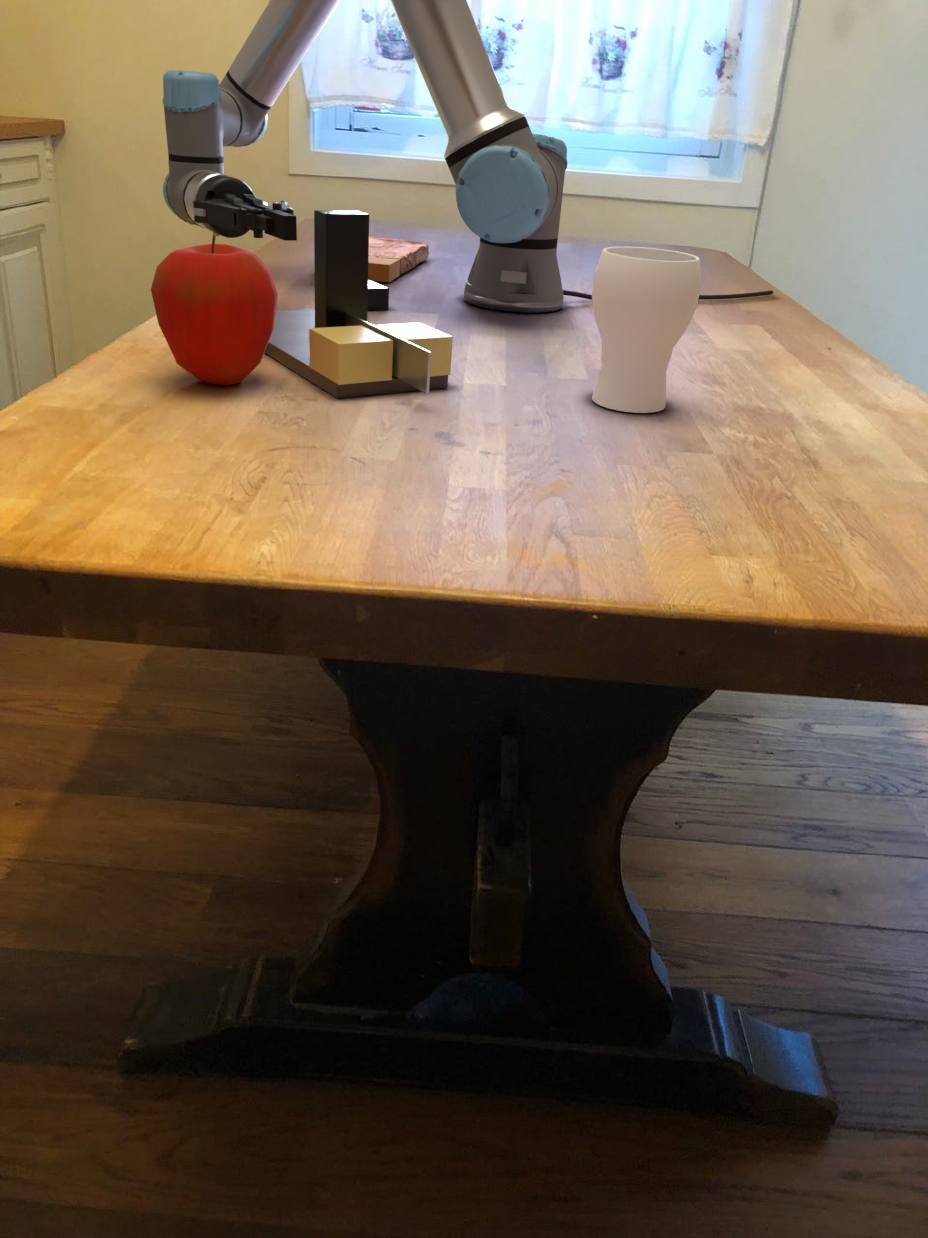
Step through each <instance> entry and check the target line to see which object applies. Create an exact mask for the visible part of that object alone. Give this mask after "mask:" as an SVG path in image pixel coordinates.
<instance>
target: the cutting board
mask: <svg viewBox="0 0 928 1238" xmlns="http://www.w3.org/2000/svg"><path fill="white" fill-rule="evenodd" d="M309 328H315V308H304V309H301V308H300V309H281V310H276V316H275V325H274V330H273V333H272V335H271V338H270V340H269V343H268V345H267V348H266V350H265V353H264V354H266V355H268V356H269V357H271V358H272V359H274V360H276V362H278V363H279V364H282V365H283V366H285V367H287V368H288V369H290V370H292V371H293V372H295V373H296V374H297V375H299V376H301V377H302V378H303V379H306V380H307V381H308V382H310V383H312V384H314V385H315V386H317V387H318V388H320V389H321V390H323V391H325V392H326V393H328V394H330V395H331V396H332V397H334V398H335V399H344V398H354V397H365V396H376V395H384V394H385V395H386V394H396V393H407V392H416V391H420V390H419V389H417V388H415V387H413V386H412V385H410V384H408V383H406V382H404V381H402V380H400V379H399V378H397V377H395V376H393V375H392V380H387V381H376V382H365V383H353V384H342V385H338V384H336V383H335V382H333V381H331V380H330V379H328V378H327V377H325V376H323V375H322V374H320V373H318V372H317V371H315V370H313V369H312V368H310V350H309ZM448 384H449V375H442V376H431V377H430V385H429V390H436V389H437V390H438V389H446V388H448Z"/></svg>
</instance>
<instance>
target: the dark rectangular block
mask: <svg viewBox="0 0 928 1238" xmlns="http://www.w3.org/2000/svg"><path fill="white" fill-rule="evenodd" d="M389 304H390V288H389V287H387V286H385V285H382V284H380V283H378V282H376V281H372V280H368V306H367V312H372V311H388V310H389Z"/></svg>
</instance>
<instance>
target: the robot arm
mask: <svg viewBox="0 0 928 1238" xmlns="http://www.w3.org/2000/svg"><path fill="white" fill-rule="evenodd" d="M340 2H341V0H269V1H268V3H267V5H266V7H265V8H264V9H263V11H262V13H261V15H260V16H259V17H258V19H257V21H256V23H255V25H254V26H253V28H252V29H251V31H250V32H249V34H248V36H247V38H246V39H245V42H244V43H243V44H242V46H241V48H240V50H239V51H238V53H237V54H236V56H235V57H234V60H233V61H232V63H231V64H230V66H229V68H228V70H227V72H226V73H225V75H224V76H223V78H222V79H221V81H220V80H219V78H218V76H217V75H216V74H215V73H213V72H205V71H195V70H194V71H193V70H180V69H179V70H177V69H169V70H167V71H165V72H164V74H163V77H162V84H163V85H162V88H163V89H162V91H163V93H162V94H163V95H162V96H163V98H162V105H163V112H164V113H163V114H164V123H165V133H166V146H167V155H168V161H167V162H168V173H167V174H166V176H165V178H164V181H163V185H162V195H163V198H164V202H165V204H166V206H167V207H168V209H169V210H170V211H171V212H172V213H173V214H174V215H175V216H176V217H177V218H179V219H180V220H182V221H183V222H184V223H188V224H190V225H193V226H197V227H200V228H202V229H205V230H207V231H209V232H212V236H213V235H214V236H216V237H219V236H221V237H224V238H227V239H236V238H240V237H243V236H244V235H246V234H247V233H248V232H249V231H252V232H253V238H254V239H264V234H266V235H268V236H271V237H274V238H277V239H279V240H282V241H291V242H292V241H293V242H294V241H296V242H297V241H298V229H297V227H298V226H297V215H295V212H294V208H292V207H290V206H289V205H288V201H285V200H280V201H277V202H276V201H272V204H271V205H272V206H270V205H268V203H267V201H264V200H263V199H261V198H258V197H256V195H255V193H254V191H253V189H252V188H251V187H250V186H249V185H248V184H247V183H246V182H244V181H243V180H242V179H240V178H237V177H234V176H230V175H227V174H225V166H224V163H225V161H224V159H225V158H224V147H232V148H233V147H234V148H243V147H247V146H250V145H252V144H255V143H257V142H258V141H260V140H261V139H262V138H263V136H264V135H265V133H266V131H267V129H268V122H269V121H268V119H269V116H268V114H269V113H270V110H271V109H272V107H273V106H274V105H275V103H276V101H277V100H278V98H279V96H280V95H281V93H282V92H283V90H284V89H285V87H286V85H287V84H288V82H289V81H290V79H291V78H292V76H293V74H294V73H295V72H296V71H297V68H298V67H299V65H301V62H302V61H303V59H304V57H305V56H306V55H307V53H308V51H309V50H310V48H311V47H312V45H313V44H314V42H315V40H316V39H317V37H318V36H319V35H320V34H321V31H322V30H323V29H324V27H325V25H326V23H327V22H328V21H329V19H330V17H331V16H332V14H333V13H334V12H335V10H336V8H337V7H338V5H339V3H340ZM390 2H391V5H392V7H393V10H394V13H395V14H396V16H397V20H398V21H399V23H400V26H401V29H402V30H403V33H404V35H405V38H406V40H407V42H408V46H409V48H410V49H411V52H412V54H413V57H414V60H415V62H416V64H417V67H418V68H419V71H420V73H421V76H422V78H423V80H424V82H425V85H426V87H427V91H428V92H429V95H430V96H431V99H432V101H433V105H434V106H435V109H436V111H437V114H438V116H439V119H440V120H441V123H442V125H443V128H444V130H445V132H446V135H447V145H446V148H445V151H444V155H443V157H444V160H445V162H446V165H447V167H448V170H449V173H450V175H451V177H452V179H453V182H454V184H455V201H456V207H457V210H458V212H459V215H460V218H461V219H462V221H463V223H464V224H465V226H466V227H467V228H468V229H469V231H471V232H472V233H473V234H474V235H476V236H477V237H479V245H478V249H477V251H476V255H475V258H474V260H473V263H472V265H471V268H470V271H469V274H468V277H467V279H466V281H465V285H464V288H463V300H464V301H465V302H466V303H468V304H470V305H473V306H476V307H480V308H484V309H489V310H495V311H501V312H502V311H503V312H510V313H511V312H513V313H532V314H533V313H536V314H537V313H550V312H555V311H560V310H561V309H562V308H563V306H564V305H563V304H564V296H568V297H576V298H581V299H586V300H591V301H592V294H589V293H584V292H579V291H573V290H566V289H563V284H562V277H561V271H560V267H559V261H558V256H557V252H558V251H557V249H558V242H559V241H558V240H559V234H560V233H559V232H560V224H561V222H560V221H561V215H562V214H561V213H562V205H563V204H562V203H563V195H564V183H565V177H566V176H565V175H566V170H567V168H568V163H569V162H568V159H567V157H568V148H567V145H566V143H565V141H563V140H562V139H561V138H557V137H555V136H554V137H553V136H548V135H545V134H538V133H533V132H532V130H531V127H530V125H529V122H528V119H527V117H526V115H525V114H524V113H522V112H520V111H517V110H515V109H513V108H511V107H510V105H508V101H507V100H506V97H505V94H504V92H503V89H502V87H501V84H500V82H499V79H498V77H497V73H496V71H495V69H494V66H493V63H492V61H491V59H490V56H489V54H488V52H487V48H486V46H485V44H484V41H483V39H482V36H481V34H480V31H479V29H478V26H477V24H476V21H475V19H474V15H473V13H472V11H471V9H470V6H469V3H468V1H467V0H390ZM773 294H774V290H773V289H772V290H763V291H754V292H743V293H732V294H731V293H730V294H699V299H698V301H701V300H708V301H709V300H732V299H733V300H734V299H744V298H754V297H763V296H771V295H773Z"/></svg>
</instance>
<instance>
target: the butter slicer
mask: <svg viewBox="0 0 928 1238" xmlns="http://www.w3.org/2000/svg"><path fill="white" fill-rule="evenodd" d="M313 220H314V221H313V231H314V232H313V238H314V239H313V242H314V243H313V244H314V245H313V246H314V247H313V249H314V251H313V253H314V309H315V328H325V327H342V326H360V325H362V326H364V327H366V328H368V329H370V330H372V331H374V332H376V333H379V334H381V335H383V336H385V337H387V338H389V339H391V340H393V361H392V375H393V376H395V377H397V378H399V379H400V380H402V381H404V382H406V383H408V384H410V385H412V386H413V387H415V388H417V389H419V390H418V391H421V392H422V393H424V394H430V389H429V385H430V366H431V352H430V351H428V350H426V349H424V348H422V347H419V346H417V345H415V344H413V343H411V342H409V341H407V340H404V339H402V338H400V337H398V336H396V335H394V334H392V333H390V332H387V331H385V330H383V329H381V328H379V327H377V326H375V325H376V324H372V323H371V322H368V311H367V306H368V256H369V235H370V213H367V212H362V211H360V210H341V209H340V210H335V209H333V210H329V209H315V210H314V211H313Z"/></svg>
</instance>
